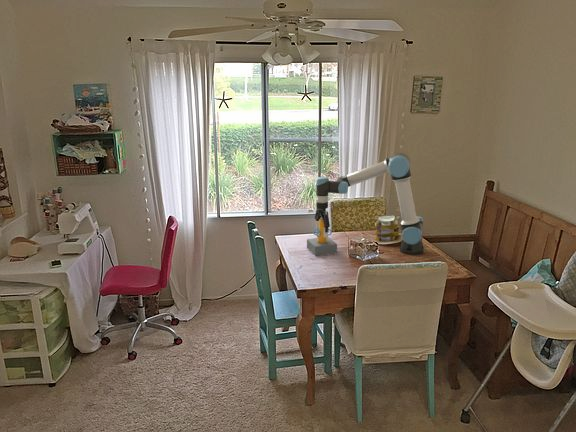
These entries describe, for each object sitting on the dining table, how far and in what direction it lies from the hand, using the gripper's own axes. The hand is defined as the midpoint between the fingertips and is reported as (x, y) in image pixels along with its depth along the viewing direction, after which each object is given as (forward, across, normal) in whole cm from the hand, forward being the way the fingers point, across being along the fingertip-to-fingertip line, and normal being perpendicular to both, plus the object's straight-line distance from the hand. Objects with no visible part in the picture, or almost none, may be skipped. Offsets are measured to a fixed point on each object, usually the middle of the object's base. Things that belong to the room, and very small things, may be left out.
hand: (321, 233), depth 316 cm
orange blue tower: (+6, 0, 0) cm, 6 cm away
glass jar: (+12, -3, +50) cm, 51 cm away
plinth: (+11, 0, 0) cm, 11 cm away
